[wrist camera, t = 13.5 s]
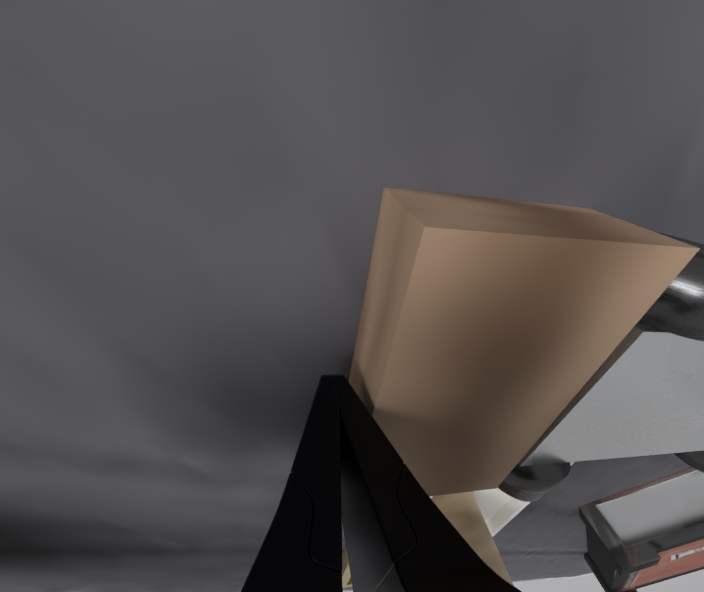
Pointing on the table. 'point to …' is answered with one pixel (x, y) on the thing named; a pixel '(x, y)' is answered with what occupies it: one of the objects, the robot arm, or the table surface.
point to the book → (647, 532)
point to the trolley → (633, 395)
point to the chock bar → (493, 323)
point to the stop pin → (472, 528)
